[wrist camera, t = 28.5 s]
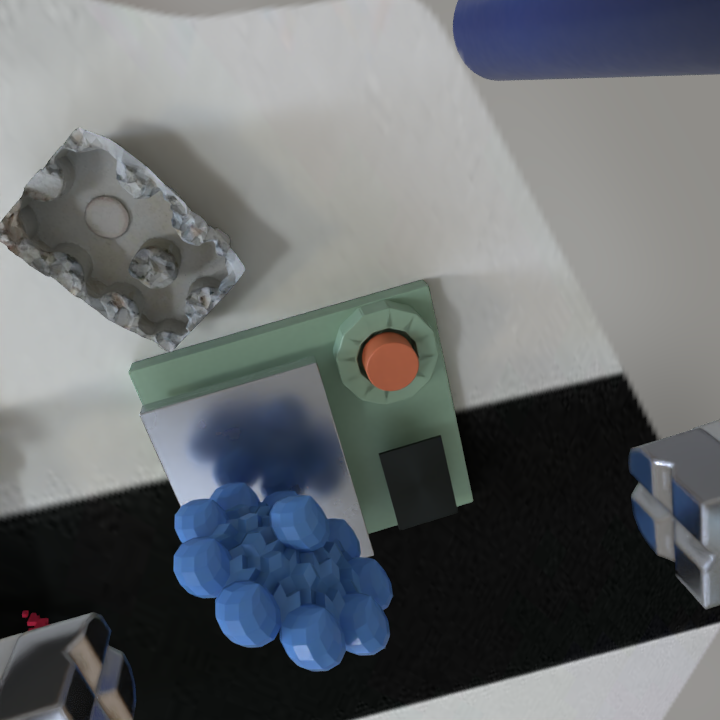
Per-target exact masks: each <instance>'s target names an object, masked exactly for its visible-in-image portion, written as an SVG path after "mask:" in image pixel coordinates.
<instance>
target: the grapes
mask: <svg viewBox="0 0 720 720" xmlns="http://www.w3.org/2000/svg"><path fill="white" fill-rule="evenodd" d="M175 530H176V532H177V534H178V537H179V539H180V541H181V542H182V544H181V545H180V547H179V548H178V550H177V551H176V553H175V554H174V572H175V575H176V577H177V579H178V581H179V583H180V585H181V586H182V587H183V588H184V589H185V590H186V591H187V592H189V593H190V594H192V595H195V596H197V597H201V598H215V597H217V598H216V600H215V616H216V619H217V621H218V623H219V625H220V627H221V629H222V631H223V633H224V634H225V635H226V636H227V637H228V638H229V639H230V640H231V641H232V642H234V643H237V644H239V645H242V646H245V647H262V646H264V645H265V644H267V643H269V642H271V641H272V640H274V639H275V637H276V635H277V633H278V631H279V630H280V641H281V643H282V645H283V647H284V649H285V651H286V653H287V654H288V656H289V657H290V658H291V659H292V660H293V661H294V662H295V663H296V664H297V665H298V666H300V667H303V668H305V669H308V670H311V671H328V670H329V669H331V668H333V667H335V666H336V665H338V664H340V662H341V660H342V658H343V655H344V653H345V651H348V652H351V653H354V654H357V655H374V654H375V653H377V652H379V651H380V650H382V649H384V648H385V646H386V644H387V642H388V639H389V637H390V631H389V623H388V619H387V617H386V615H385V613H384V612H383V610H384V609H385V608H387V607H388V606H389V604H390V601H391V599H392V597H393V594H392V587H391V582H390V580H389V578H388V576H387V574H386V572H385V571H384V569H383V568H382V567H381V566H380V565H379V563H378V562H377V561H376V560H375V559H370V558H365V557H360V555H361V550H360V542H359V540H358V538H357V536H356V534H355V532H354V530H353V529H352V528H351V527H350V526H349V525H348V523H347V522H346V521H345V520H344V519H336V518H331V519H327V517H326V515H325V513H324V511H323V509H322V508H321V507H320V506H319V504H318V503H317V502H316V501H315V500H314V499H313V498H312V497H311V496H308V495H299V494H297V493H296V492H295V491H290V490H285V491H277V492H273V493H271V494H270V495H268V496H266V497H265V498H264V499H263V501H262V502H260V500H259V498H258V496H257V494H256V493H255V492H254V491H253V490H252V489H251V488H250V487H249V486H248V485H247V484H246V483H243V482H235V483H227V484H225V485H223V486H221V487H219V488H217V489H215V491H214V492H213V494H212V495H211V497H210V499H196V500H192V501H190V502H188V503H186V504H184V505H182V506H181V508H180V509H179V510H178V512H177V513H176V515H175Z"/></svg>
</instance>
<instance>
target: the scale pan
mask: <svg viewBox="0 0 720 720" xmlns="http://www.w3.org/2000/svg"><path fill="white" fill-rule="evenodd" d="M140 417H141V419H142V422H143V424H144V426H145V428H146V431H147V433H148V435H149V437H150V440H151V442H152V444H153V446H154V449H155V451H156V453H157V455H158V458H159V460H160V462H161V464H162V466H163V469H164V471H165V473H166V475H167V478H168V480H169V482H170V484H171V487H172V489H173V491H174V493H175V496H176V498H177V500H178V502H179V505H180V507H181V506H182V505H184V504H186V503H188V502H190V501H192V500H196V499H210V497H211V495H212V494H213V492H214V491H215V489H217V488H219V487H221V486H223V485H225V484H227V483H235V482H243V483H246V484H247V485H248V486H249V487H250V488H251V489H252V490H253V491H254V492H255V493H256V494H257V496H258V498H259V500H260V502H262V501H263V499H264V498H265V497H266V496H268V495H270V494H271V493H273V492H277V491H285V490H290V491H295V492H296V493H297V494H299V495H308V496H311V497H312V498H313V499H314V500H315V501H316V502H317V503H318V504H319V506H320V507H321V508H322V509H323V511H324V513H325V515H326V517H327V519H331V518H336V519H344V520H345V521H346V522H347V523H348V525H349V526H350V527H351V528H352V529H353V530H354V532H355V534H356V536H357V538H358V540H359V542H360V550H361V555H360V557H365V558H367V557H370V556H373V555H374V551H373V548H372V544H371V541H370V537H369V534H368V531H367V527H366V524H365V521H364V517H363V514H362V511H361V507H360V504H359V501H358V497H357V494H356V491H355V487H354V484H353V481H352V477H351V474H350V471H349V467H348V464H347V461H346V457H345V454H344V451H343V447H342V444H341V441H340V437H339V434H338V431H337V427H336V424H335V421H334V417H333V414H332V411H331V407H330V404H329V401H328V397H327V394H326V391H325V387H324V384H323V381H322V377H321V374H320V371H319V367H318V364H317V361H316V357H315V356H310V357H307V358H303V359H300V360H296V361H293V362H290V363H286V364H283V365H279V366H276V367H272V368H269V369H266V370H262V371H259V372H255V373H252V374H248V375H245V376H241V377H238V378H235V379H231V380H228V381H224V382H221V383H217V384H214V385H211V386H207V387H204V388H200V389H197V390H193V391H190V392H186V393H183V394H180V395H176V396H173V397H169V398H166V399H162V400H159V401H156V402H152V403H149V404H145V405H143V406H142V409H141V412H140ZM379 457H380V461H381V465H382V468H383V472H384V476H385V479H386V483H387V487H388V490H389V494H390V498H391V501H392V505H393V508H394V512H395V516H396V519H397V523H398V527H399V530H403V529H406V528H409V527H412V526H416V525H419V524H422V523H425V522H429V521H432V520H435V519H438V518H442V517H445V516H448V515H451V514H455V513H458V510H457V505H456V501H455V496H454V492H453V487H452V483H451V478H450V474H449V469H448V465H447V460H446V456H445V451H444V447H443V442H442V438H441V435H438V436H435V437H431V438H428V439H425V440H421V441H418V442H415V443H411V444H408V445H405V446H401V447H398V448H395V449H392V450H388V451H385V452H382V453H379Z"/></svg>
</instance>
